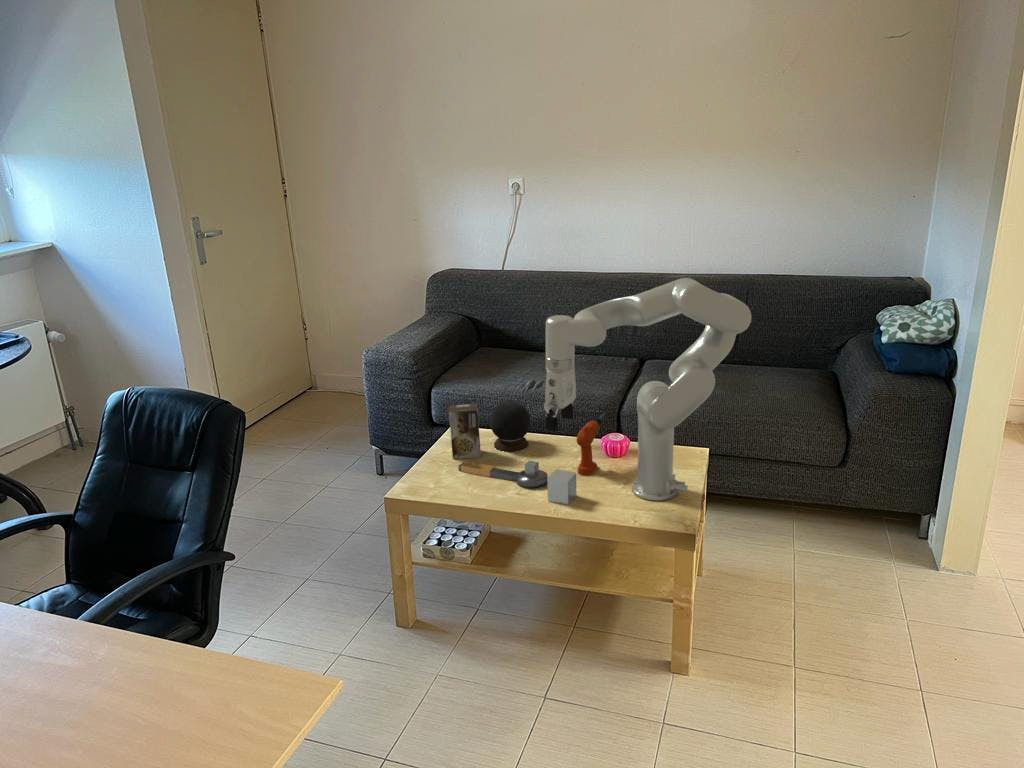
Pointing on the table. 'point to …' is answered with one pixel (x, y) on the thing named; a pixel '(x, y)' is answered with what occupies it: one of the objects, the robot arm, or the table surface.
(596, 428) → the toy drill
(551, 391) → the robot arm
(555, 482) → the socket
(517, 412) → the black ball on stand
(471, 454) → the coffee box
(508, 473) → the ratchet
